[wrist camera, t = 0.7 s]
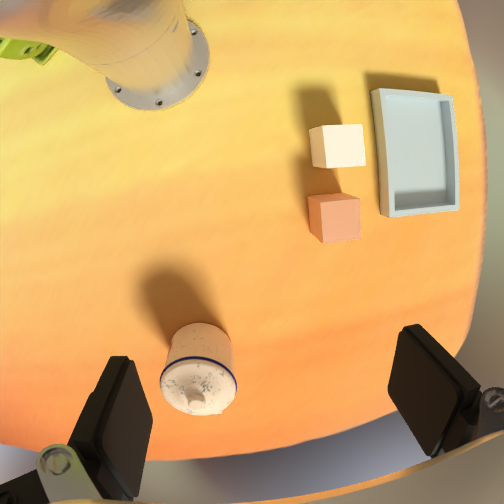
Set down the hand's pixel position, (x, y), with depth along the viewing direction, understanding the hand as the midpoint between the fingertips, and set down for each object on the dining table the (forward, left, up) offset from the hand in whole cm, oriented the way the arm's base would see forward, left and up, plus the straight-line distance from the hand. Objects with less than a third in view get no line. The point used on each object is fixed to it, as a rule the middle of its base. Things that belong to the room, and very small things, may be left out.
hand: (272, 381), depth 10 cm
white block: (-7, +12, -29) cm, 32 cm away
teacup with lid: (+19, -7, -29) cm, 35 cm away
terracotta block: (+1, +11, -29) cm, 31 cm away
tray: (-6, +24, -29) cm, 38 cm away
